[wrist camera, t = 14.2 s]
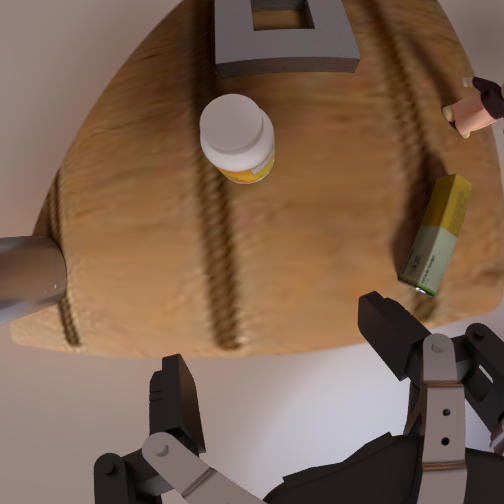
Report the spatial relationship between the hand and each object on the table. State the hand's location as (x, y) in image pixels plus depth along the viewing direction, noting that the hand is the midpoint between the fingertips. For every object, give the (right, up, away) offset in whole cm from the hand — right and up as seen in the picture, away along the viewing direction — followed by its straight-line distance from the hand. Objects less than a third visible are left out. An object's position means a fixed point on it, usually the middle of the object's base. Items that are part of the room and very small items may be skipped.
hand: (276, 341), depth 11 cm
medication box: (+17, +6, +14) cm, 23 cm away
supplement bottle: (-2, +13, +15) cm, 19 cm away
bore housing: (+2, +29, +13) cm, 32 cm away
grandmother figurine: (+23, +18, +12) cm, 32 cm away
